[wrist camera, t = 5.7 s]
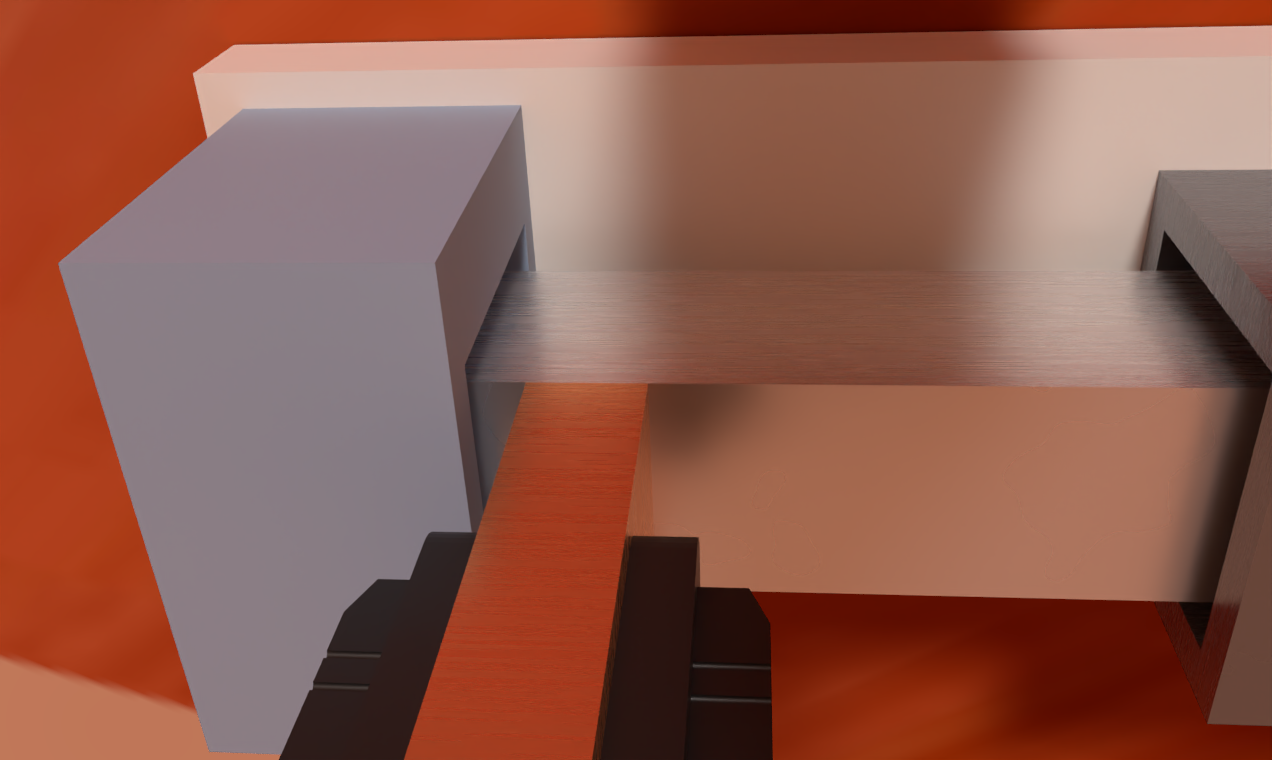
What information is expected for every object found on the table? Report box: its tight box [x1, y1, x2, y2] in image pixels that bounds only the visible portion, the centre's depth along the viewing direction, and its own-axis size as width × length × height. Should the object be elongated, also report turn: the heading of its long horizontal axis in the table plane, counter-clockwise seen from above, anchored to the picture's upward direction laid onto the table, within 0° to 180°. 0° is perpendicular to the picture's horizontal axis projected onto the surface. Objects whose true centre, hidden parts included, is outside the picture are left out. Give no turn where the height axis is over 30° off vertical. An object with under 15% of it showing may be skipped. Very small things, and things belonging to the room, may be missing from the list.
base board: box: [193, 26, 1272, 271], centre depth 18 cm, size 21×8×2 cm, turn 92°
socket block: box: [58, 105, 536, 754], centre depth 16 cm, size 4×7×5 cm, turn 2°
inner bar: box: [404, 271, 1272, 760], centre depth 13 cm, size 12×3×9 cm, turn 92°
